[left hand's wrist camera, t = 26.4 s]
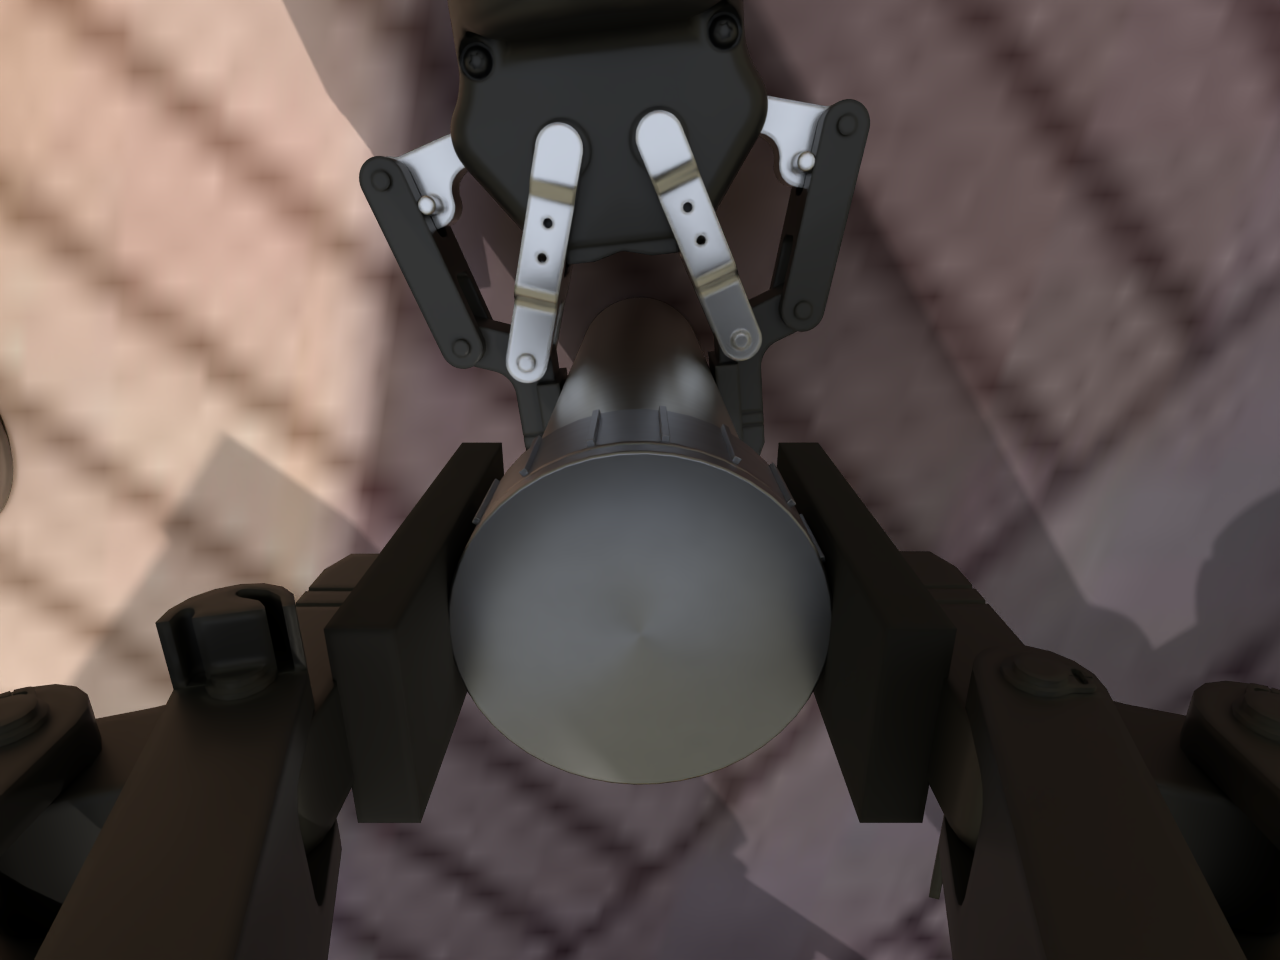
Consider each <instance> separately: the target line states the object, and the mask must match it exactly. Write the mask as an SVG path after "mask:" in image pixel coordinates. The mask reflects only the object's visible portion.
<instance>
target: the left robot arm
mask: <svg viewBox="0 0 1280 960" xmlns="http://www.w3.org/2000/svg"><path fill="white" fill-rule="evenodd" d="M777 468H778V470H779V472H780V474H781V476H782V478H783V480H784V482H785V484H786V486H787V487H788V489H789V491H790V493H791V495H792V497H793V499H794V501H795V503H796V505H794V506H795V508H796V510H797V511H798V513H799V515H800V514H803V516H804V518H805V520H806V522H807V524H808V526H809V528H810V530H811V531H812V533H813V535H814V537H815V539H816V541H817V543H818V545H819V547H820V549H821V551H822V552H823V554H824V556H825V560H826V562H825V563H823V565H824V568H825V570H826V573H827V577H828V581H829V585H830V589H831V593H832V620H831V629H830V639H829V647H828V655H827V661H826V664H825V666H824V669H823V672H822V674H821V677H820V679H819V681H818V683H817V685H816V687H815V689H814V690H813V692H814V695H815V698H816V701H817V703H818V706H819V709H820V712H821V715H822V718H823V720H824V723H825V726H826V729H827V732H828V734H829V737H830V740H831V743H832V746H833V749H834V751H835V754H836V757H837V760H838V763H839V765H840V768H841V771H842V774H843V777H844V779H845V782H846V785H847V788H848V791H849V794H850V796H851V799H852V802H853V805H854V808H855V810H856V813H857V816H858V819H859V822H860V823H922V821H923V816H924V810H925V805H926V799H927V794H928V788H929V785H930V787H931V789H932V791H933V793H934V795H935V797H936V799H937V801H938V803H939V805H940V807H941V809H942V811H943V813H944V818H943V823H942V828H941V834H940V839H939V844H938V849H937V854H936V860H935V865H934V870H933V875H932V880H931V887H930V894H929V897H931V898H935V899H939V897H940V892H941V887H942V884H943V888H944V896H945V904H946V911H947V919H948V927H949V935H950V942H951V950H952V958H953V960H1280V690H1278V689H1275V688H1272V689H1269V688H1268V686H1263V685H1259V684H1254V683H1250V684H1248V683H1240V682H1232V681H1220V682H1212V683H1205V684H1204V685H1202V686H1201V687H1199V688H1198V689H1197V690H1195V691H1194V693H1193V696H1192V699H1191V702H1190V705H1189V708H1188V712H1187V715H1186V716H1185V715H1179V714H1174V713H1169V712H1164V711H1158V710H1153V709H1148V708H1143V707H1137V706H1132V705H1127V704H1123V703H1119V702H1115V701H1113V700H1112V699H1111V697H1110V695H1109V693H1108V691H1107V689H1106V688H1105V687H1104V685H1103V684H1102V683H1101V682H1100V681H1099V679H1098V678H1097V677H1096V676H1095V675H1094V674H1093V673H1091V672H1090V671H1088V670H1087V669H1085V668H1084V667H1082V666H1081V665H1079V664H1078V663H1076V662H1075V661H1073V660H1070V659H1068V658H1065V657H1063V656H1061V655H1058V654H1056V653H1053V652H1051V651H1047V650H1042V649H1038V648H1034V647H1029V646H1025V645H1024V644H1023V643H1022V642H1021V641H1020V640H1019V638H1018V637H1017V636H1016V635H1015V634H1014V633H1013V631H1012V630H1011V629H1010V628H1009V627H1008V626H1007V625H1006V623H1005V622H1004V621H1003V620H1002V619H1001V618H1000V617H999V615H998V614H997V613H996V612H995V611H994V610H993V609H992V607H991V606H990V605H989V604H985V599H984V598H983V597H982V596H981V595H980V594H979V593H978V591H977V590H976V589H972V584H971V583H970V582H969V581H968V580H967V579H966V578H965V576H964V575H963V574H962V573H961V572H960V571H959V570H958V568H957V567H955V566H954V565H952V564H950V563H948V562H947V561H945V560H943V559H942V558H940V557H938V556H936V555H935V554H933V553H931V552H929V551H899V550H898V549H897V548H896V546H895V545H894V544H893V542H892V541H891V540H890V538H889V537H888V536H887V534H886V533H885V532H884V530H883V529H882V528H881V526H880V525H879V524H878V522H877V521H876V520H875V518H874V517H873V516H872V514H871V513H870V512H869V510H868V509H867V508H866V506H865V505H864V504H863V502H862V501H861V500H860V498H859V497H858V496H857V494H856V493H855V492H854V490H853V489H852V488H851V486H850V485H849V484H848V482H847V481H846V480H845V478H844V477H843V476H842V474H841V473H840V471H839V470H838V469H837V467H836V466H835V465H834V463H833V462H832V461H831V459H830V458H829V457H828V455H827V454H826V453H825V451H824V450H823V449H822V447H821V446H820V445H819V443H779V446H778V460H777ZM503 476H504V468H503V454H502V443H462V444H461V445H460V447H459V448H458V449H457V451H456V452H455V453H454V455H453V456H452V457H451V459H450V460H449V461H448V463H447V464H446V465H445V467H444V468H443V469H442V471H441V472H440V473H439V475H438V476H437V477H436V479H435V480H434V481H433V483H432V484H431V485H430V487H429V488H428V490H427V491H426V492H425V494H424V495H423V496H422V498H421V499H420V500H419V502H418V503H417V504H416V506H415V507H414V508H413V510H412V511H411V512H410V514H409V515H408V516H407V518H406V519H405V520H404V522H403V523H402V524H401V526H400V527H399V528H398V530H397V531H396V532H395V534H394V535H393V536H392V538H391V539H390V540H389V542H388V543H387V544H386V546H385V547H384V548H383V550H382V551H381V552H380V554H350V555H349V556H347V557H345V558H343V559H342V560H340V561H338V562H337V563H335V564H333V565H331V566H330V567H328V568H326V569H325V570H324V571H323V572H322V573H321V574H320V575H319V577H318V578H317V579H316V580H315V581H314V582H313V584H312V585H311V586H310V587H309V591H306V592H305V593H304V594H303V595H302V596H301V597H300V599H299V600H298V601H297V602H296V605H295V600H294V595H293V594H292V593H291V592H289V591H288V590H287V589H285V588H284V587H281V586H276V585H271V584H265V583H259V584H239V585H234V586H229V587H224V588H219V589H214V590H211V591H208V592H206V593H203V594H200V595H197V596H194V597H191V598H189V599H187V600H185V601H184V602H182V603H180V604H178V605H176V606H175V607H173V608H171V609H169V610H168V611H167V612H166V613H165V614H164V615H163V616H162V617H161V618H160V619H159V620H158V621H157V622H156V627H157V630H158V634H159V638H160V641H161V645H162V649H163V652H164V656H165V660H166V663H167V667H168V671H169V674H170V678H171V682H172V685H173V689H174V690H173V692H172V694H171V696H170V698H169V700H168V702H167V704H166V705H163V706H159V707H155V708H150V709H145V710H139V711H134V712H129V713H124V714H119V715H113V716H108V717H103V718H98V719H95V716H94V713H93V710H92V707H91V704H90V700H89V697H88V694H86V693H85V692H83V691H82V690H80V689H79V688H78V687H76V686H67V685H59V684H53V685H44V686H36V687H25V688H20V689H16V690H14V692H10V691H8V692H5V693H2V694H0V960H328V952H329V944H330V937H331V929H332V921H333V913H334V905H335V898H336V890H337V882H338V874H339V867H340V859H341V851H342V847H341V840H340V834H339V828H338V823H337V816H338V814H339V812H340V810H341V808H342V806H343V804H344V801H345V799H346V797H347V795H348V793H349V791H350V789H351V787H352V791H353V797H354V802H355V808H356V813H357V819H358V823H421V820H422V817H423V815H424V812H425V809H426V806H427V803H428V800H429V798H430V795H431V792H432V789H433V786H434V784H435V781H436V778H437V775H438V772H439V769H440V767H441V764H442V761H443V758H444V755H445V753H446V750H447V747H448V744H449V741H450V738H451V736H452V733H453V730H454V727H455V724H456V722H457V719H458V716H459V713H460V710H461V707H462V705H463V702H464V699H465V696H466V693H467V690H466V688H465V685H464V683H463V681H462V679H461V677H460V675H459V673H458V670H457V667H456V664H455V660H454V657H453V652H452V643H451V634H450V625H449V614H448V601H449V595H450V589H451V583H452V580H453V577H454V574H455V570H456V567H457V564H458V561H459V559H460V557H461V555H462V553H463V551H464V549H465V547H466V545H467V543H468V541H469V539H470V537H471V535H472V533H473V531H474V529H475V527H476V525H475V524H473V523H472V521H473V519H474V517H475V515H476V513H477V511H478V510H479V508H480V506H481V504H482V502H483V500H484V498H485V496H486V494H487V493H488V491H489V489H490V487H491V485H492V483H493V482H494V480H495V479H497V480H499V481H501V479H502V478H503Z"/></svg>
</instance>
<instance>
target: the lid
mask: <svg viewBox="0 0 1280 960" xmlns="http://www.w3.org/2000/svg"><path fill="white" fill-rule="evenodd" d="M794 505H796V503H795V501H794V499H793V497H792V495H791V493H790V491H789V489H788V487H787V486H786V484H785V482H784V480H783V478H782V476H781V474H780V472H779V470H778V468H777V467H776V465H775V464H774V463H772V464H770V465H768V464H767V462H766V461H765V460H764V459H763V458H761V457H760V456H759V455H758V454H757V453H756V452H755V451H754V450H753V449H752V448H751V447H750V446H748V445H747V444H745V443H744V442H743V441H741V440H740V439H738V438H737V437H735V436H734V435H733V434H731V431H730V429H729V427H728V426H726V425H724V424H723V425H722V426H721V428H719V427H717V426H716V425H714V424H711V423H709V422H706V421H703V420H700V419H698V418H695V417H692V416H689V415H684V414H680V413H675V412H671V411H667V408H666V406H659V410H652V409H628V410H618V411H612V412H605V413H600V410H599V409H598V410H594V411H593V412H592V416H590V417H586V418H583V419H579V420H577V421H575V422H572V423H570V424H568V425H566V426H563V427H561V428H559V429H557V430H555V431H554V432H552V433H550V434H549V435H547V436H546V437H544V438H541V437H540V435H538V436H537V437H535V438H534V440H533V442H532V444H531V446H530V448H529V449H528V450H527V451H526V452H524V453H523V454H522V455H521V456H520V457H519V458H518V459H517V460H516V462H515V463H514V464H513V465H512V466H511V467H510V468H509V469H508V470H507V472H506V473H505V475H504V476H503V478H502V479H501V481H499V480H497V479H495V480H494V482H493V483H492V485H491V487H490V489H489V491H488V493H487V494H486V496H485V498H484V500H483V502H482V504H481V506H480V508H479V510H478V511H477V513H476V515H475V517H474V519H473V521H472V523H473V524H475V525H476V527H475V529H474V531H473V533H472V535H471V537H470V539H469V541H468V543H467V545H466V547H465V549H464V551H463V553H462V555H461V557H460V559H459V561H458V564H457V567H456V570H455V574H454V577H453V580H452V583H451V589H450V595H449V601H448V614H449V625H450V634H451V643H452V652H453V657H454V660H455V664H456V667H457V670H458V673H459V675H460V677H461V679H462V681H463V683H464V685H465V688H466V690H467V691H468V693H469V694H470V696H471V698H472V699H473V701H474V702H475V704H476V705H477V707H478V708H479V710H480V711H481V712H482V713H483V714H484V715H485V717H486V718H487V719H488V720H489V721H490V722H491V724H492V725H493V726H494V727H495V728H497V729H498V730H499V731H500V732H501V733H502V734H503V735H504V736H505V737H506V738H508V739H509V740H510V741H511V742H513V743H514V744H516V745H517V746H518V747H520V748H521V749H523V750H524V751H525V752H527V753H528V754H530V755H532V756H534V757H536V758H538V759H539V760H541V761H543V762H545V763H547V764H549V765H551V766H554V767H556V768H559V769H561V770H564V771H566V772H569V773H572V774H575V775H579V776H582V777H586V778H589V779H594V780H600V781H605V782H611V783H622V784H661V783H668V782H676V781H682V780H686V779H691V778H695V777H699V776H703V775H706V774H709V773H711V772H714V771H717V770H720V769H723V768H725V767H727V766H729V765H731V764H733V763H736V762H738V761H740V760H742V759H744V758H746V757H747V756H749V755H750V754H752V753H753V752H755V751H757V750H758V749H760V748H761V747H763V746H764V745H766V744H767V743H768V742H769V741H770V740H772V739H773V738H774V737H775V736H777V735H778V734H779V733H780V732H781V731H782V730H783V729H784V728H785V727H786V726H787V725H788V724H789V723H790V722H791V721H792V720H793V719H794V718H795V717H796V716H797V714H798V713H799V712H800V710H801V709H802V707H803V706H804V705H805V703H806V702H807V701H808V699H809V698H810V696H811V694H812V692H813V690H814V689H815V687H816V685H817V683H818V681H819V679H820V677H821V674H822V672H823V669H824V666H825V664H826V661H827V655H828V647H829V639H830V629H831V620H832V593H831V589H830V585H829V581H828V577H827V573H826V570H825V568H824V565H823V563H825V562H826V560H825V556H824V554H823V552H822V551H821V549H820V547H819V545H818V543H817V541H816V539H815V537H814V535H813V533H812V531H811V530H810V528H809V526H808V524H807V522H806V520H805V518H804V516H803V514H800V515H799V513H798V511H797V510H796V508H795V506H794Z"/></svg>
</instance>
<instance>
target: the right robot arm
mask: <svg viewBox="0 0 1280 960" xmlns="http://www.w3.org/2000/svg"><path fill="white" fill-rule="evenodd" d="M447 1H448V7H449V13H450V19H451V25H452V31H453V37H454V43H455V48H456V54H457V60H458V66H459V77H460V82H459V93H458V99H457V103H456V107H455V110H454V112H453V116H452V120H451V134H448V135H446V136H444V137H442V138H439V139H437V140H435V141H433V142H430V143H428V144H426V145H424V146H421V147H419V148H417V149H415V150H412V151H410V152H408V153H406V154H403V155H401V156H399V157H383V156H375V157H372V158H370V159H368V160H367V161H366V162H365V163H364V164H363V165H362V167H361V170H360V173H359V182H360V186H361V188H362V191H363V193H364V195H365V197H366V199H367V201H368V203H369V205H370V207H371V209H372V211H373V213H374V215H375V217H376V219H377V221H378V223H379V226H380V228H381V230H382V232H383V234H384V236H385V238H386V240H387V242H388V244H389V246H390V248H391V250H392V252H393V254H394V256H395V258H396V260H397V262H398V264H399V267H400V269H401V271H402V273H403V275H404V277H405V279H406V281H407V283H408V285H409V287H410V289H411V291H412V293H413V295H414V297H415V299H416V301H417V303H418V305H419V308H420V310H421V312H422V314H423V316H424V318H425V320H426V322H427V324H428V326H429V328H430V330H431V332H432V334H433V336H434V338H435V340H436V342H437V344H438V346H439V349H440V351H441V353H442V355H443V357H444V358H445V360H446V361H447V362H448V363H449V364H451V365H452V366H454V367H456V368H460V369H466V368H470V367H473V366H475V367H479V368H483V369H487V370H491V371H495V372H498V373H501V374H503V375H504V376H505V377H507V378H508V379H509V380H510V381H511V383H512V384H513V386H514V388H515V390H516V395H517V400H518V406H519V412H520V418H521V424H522V430H523V435H524V442H525V447H526V451H527V450H528V449H529V448H530V446H531V444H532V442H533V440H534V438H535V437H537V436H538V435H540V437H541V438H542V436H543V434H544V432H545V429H546V427H547V425H548V422H549V420H550V417H551V415H552V413H553V410H554V408H555V405H556V403H557V401H558V398H559V396H560V394H561V391H562V389H563V386H564V384H565V382H566V379H567V377H568V375H567V368H559V364H558V357H557V350H556V349H557V344H558V338H559V333H560V327H561V321H562V316H563V310H564V305H565V300H566V296H567V292H568V288H569V284H570V278H571V273H572V267H573V264H577V263H586V262H595V261H597V260H600V259H602V258H605V257H607V256H610V255H612V254H615V253H617V252H620V251H628V252H635V253H641V254H647V255H658V254H667V253H676V252H678V253H679V255H680V257H681V260H682V262H683V265H684V267H685V269H686V272H687V274H688V276H689V279H690V281H691V283H692V285H693V287H694V290H695V292H696V295H697V297H698V299H699V302H700V304H701V306H702V309H703V311H704V314H705V316H706V318H707V321H708V323H709V325H710V328H711V330H712V333H713V335H714V345H715V351H713V352H708V355H709V369H710V371H711V374H712V376H713V378H714V381H715V383H716V385H717V388H718V390H719V392H720V395H721V397H722V400H723V402H724V404H725V407H726V409H727V411H728V414H729V416H730V418H731V421H732V423H733V426H734V428H735V430H736V433H737V435H738V437H739V439H740V440H741V441H743V442H744V443H745V444H747V445H748V446H750V447H751V448H752V449H753V450H754V451H755V452H756V453H757V454H758V455H759V456H760V453H761V450H762V448H763V445H764V425H763V402H762V382H761V361H762V357H763V355H764V353H765V351H766V350H767V349H768V347H769V346H770V345H772V344H773V343H774V342H776V341H778V340H780V339H782V338H784V337H786V336H788V335H791V334H793V333H795V332H797V331H799V332H803V331H808V330H811V329H813V328H814V327H816V326H817V325H818V324H819V322H820V321H821V319H822V317H823V314H824V311H825V307H826V303H827V298H828V294H829V290H830V286H831V282H832V278H833V274H834V270H835V266H836V262H837V258H838V254H839V250H840V246H841V242H842V238H843V234H844V229H845V225H846V221H847V217H848V213H849V209H850V205H851V201H852V197H853V193H854V189H855V185H856V181H857V177H858V173H859V169H860V165H861V160H862V156H863V152H864V148H865V144H866V140H867V136H868V132H869V127H870V117H869V114H868V111H867V109H866V108H865V106H864V105H863V104H861V103H860V102H858V101H856V100H852V99H846V100H842V101H839V102H837V103H835V104H833V105H831V106H821V105H816V104H810V103H805V102H799V101H794V100H788V99H783V98H777V97H772V96H767V91H766V88H765V85H764V83H763V80H762V78H761V77H760V75H759V74H758V72H757V70H756V69H755V67H754V65H753V63H752V60H751V58H750V55H749V52H748V48H747V45H746V39H745V31H744V13H743V0H447ZM758 137H761V138H763V139H764V140H766V141H767V142H768V143H769V145H770V146H771V148H772V150H773V154H774V166H773V167H774V173H775V176H776V178H777V179H778V181H779V182H780V183H781V184H783V185H785V186H787V187H791V188H792V189H791V194H790V198H789V203H788V207H787V212H786V217H785V221H784V226H783V230H782V235H781V240H780V244H779V249H778V253H777V258H776V262H775V267H774V272H773V276H772V281H771V285H770V290H768V291H766V292H764V293H762V294H760V295H758V296H756V297H754V298H752V299H750V300H748V299H747V296H746V293H745V291H744V288H743V286H742V283H741V281H740V278H739V275H738V271H737V267H736V264H735V262H734V259H733V257H732V254H731V251H730V249H729V246H728V244H727V241H726V239H725V236H724V234H723V231H722V229H721V226H720V224H719V221H718V219H717V216H716V214H715V211H716V210H717V208H718V206H719V204H720V203H721V201H722V199H723V197H724V196H725V194H726V192H727V190H728V189H729V187H730V185H731V183H732V182H733V180H734V178H735V176H736V175H737V173H738V171H739V169H740V168H741V166H742V164H743V162H744V161H745V159H746V157H747V155H748V154H749V152H750V150H751V148H752V147H753V145H754V143H755V141H756V140H757V138H758ZM468 171H469V172H470V173H471V174H472V175H473V177H474V178H475V179H476V180H477V181H478V182H479V183H480V184H481V185H482V187H483V188H484V189H485V190H486V191H487V192H488V193H489V194H490V195H491V196H492V198H493V199H494V200H495V201H496V202H497V203H498V204H499V205H500V206H501V207H502V209H503V210H504V211H505V212H506V213H507V214H508V215H509V216H510V217H511V218H512V220H513V221H514V222H515V223H516V224H517V225H518V226H519V227H520V228H521V229H522V231H523V236H522V242H521V249H520V255H519V262H518V268H517V274H516V281H515V289H514V297H515V303H514V310H513V317H512V323H511V325H510V324H506V323H502V322H498V321H494V320H493V319H492V317H491V314H490V312H489V310H488V308H487V306H486V304H485V301H484V299H483V297H482V295H481V293H480V290H479V288H478V286H477V284H476V282H475V279H474V277H473V275H472V273H471V271H470V268H469V266H468V264H467V262H466V260H465V257H464V255H463V253H462V251H461V249H460V246H459V244H458V242H457V240H456V238H455V235H454V233H453V231H452V229H451V227H450V226H452V225H454V224H455V223H456V222H457V221H458V220H459V218H460V216H461V214H462V201H461V198H460V193H459V186H460V182H461V179H462V178H463V176H464V175H465V174H466V173H467V172H468ZM12 480H13V461H12V454H11V449H10V445H9V442H8V438H7V435H6V433H5V430H4V428H3V425H2V423H1V421H0V513H1V511H2V510H3V508H4V506H5V504H6V502H7V500H8V497H9V494H10V491H11V486H12Z"/></svg>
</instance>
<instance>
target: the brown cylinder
mask: <svg viewBox="0 0 1280 960" xmlns="http://www.w3.org/2000/svg"><path fill="white" fill-rule="evenodd" d="M659 406H666V408H667V411H671V412H675V413H680V414H684V415H689V416H692V417H695V418H698V419H700V420H703V421H706V422H709V423H711V424H714V425H716V426H717V427H719V428H721V426H722V425H723V424H724V425H726V426H728V427H729V429H730V431H731V434H733V435H734V436H735V437H737V438H738V439H739V437H738V435H737V433H736V430H735V428H734V426H733V423H732V421H731V418H730V416H729V414H728V411H727V409H726V407H725V404H724V402H723V400H722V397H721V395H720V392H719V390H718V388H717V385H716V383H715V381H714V378H713V376H712V374H711V371H710V369H709V366H708V364H707V362H706V359H705V357H704V355H703V352H702V350H701V348H700V345H699V343H698V340H697V338H696V336H695V333H694V331H693V329H692V327H691V326H690V324H689V323H688V321H687V320H686V318H685V317H684V316H683V315H682V314H681V313H680V312H678V311H677V310H676V309H675V308H673V307H672V306H670V305H668V304H666V303H664V302H662V301H659V300H656V299H652V298H645V297H636V298H628V299H625V300H621V301H619V302H616V303H614V304H612V305H610V306H609V307H607V308H606V309H604V310H603V311H602V312H601V313H600V314H599V315H598V316H597V317H596V318H595V319H594V320H593V322H592V323H591V324H590V326H589V328H588V330H587V332H586V334H585V337H584V339H583V341H582V344H581V346H580V348H579V351H578V353H577V356H576V358H575V360H574V363H573V365H572V367H571V370H570V372H569V375H568V377H567V379H566V382H565V384H564V386H563V389H562V391H561V394H560V396H559V398H558V401H557V403H556V405H555V408H554V410H553V413H552V415H551V417H550V420H549V422H548V425H547V427H546V429H545V432H544V434H543V436H542V438H544V437H546V436H547V435H549V434H550V433H552V432H554V431H555V430H557V429H559V428H561V427H563V426H566V425H568V424H570V423H572V422H575V421H577V420H579V419H583V418H586V417H590V416H592V412H593V411H594V410H598V409H599V410H600V413H605V412H612V411H618V410H628V409H652V410H659Z"/></svg>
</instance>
